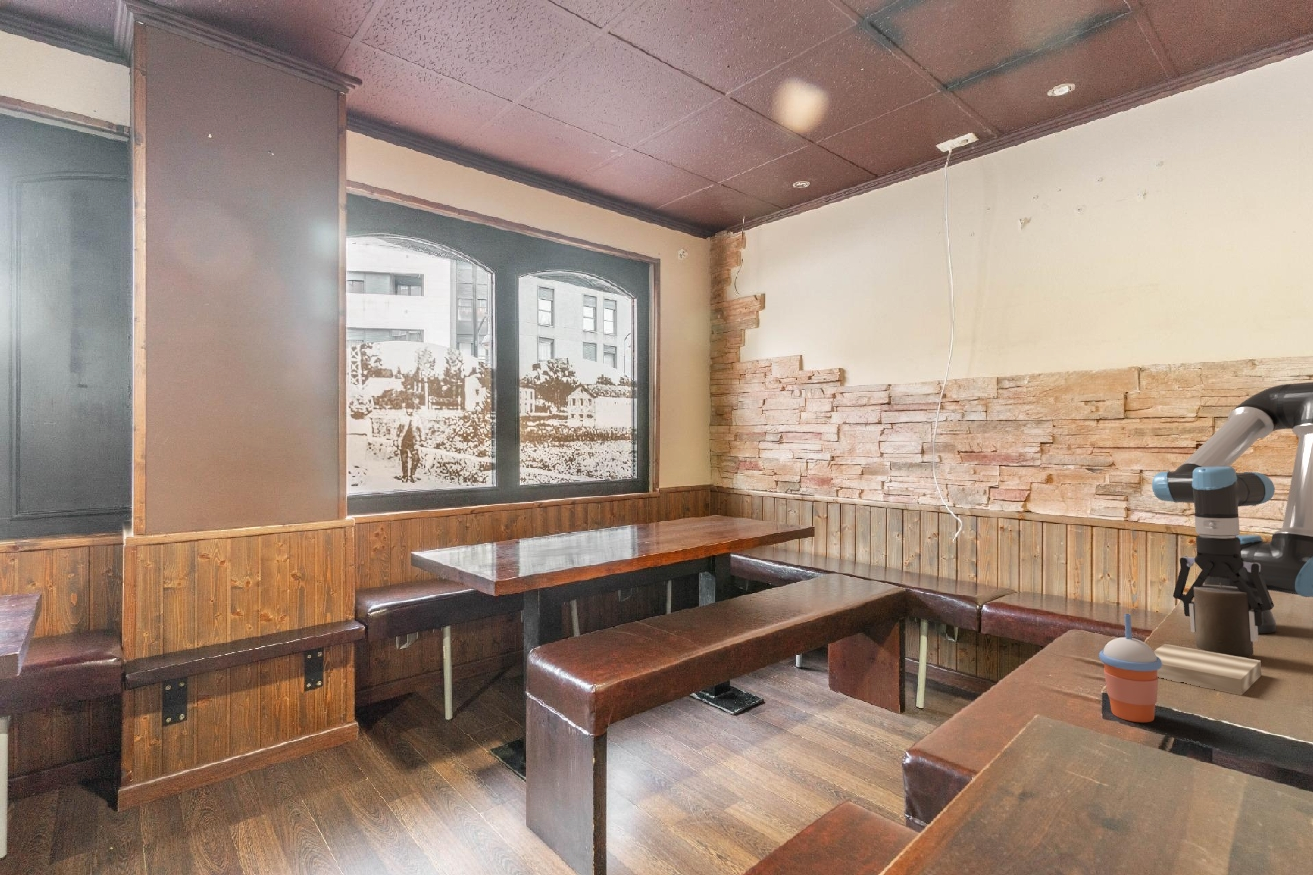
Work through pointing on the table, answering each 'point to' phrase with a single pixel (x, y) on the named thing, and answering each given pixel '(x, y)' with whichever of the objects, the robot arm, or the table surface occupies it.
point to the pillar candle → (1222, 620)
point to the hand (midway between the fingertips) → (1223, 635)
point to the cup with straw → (1131, 676)
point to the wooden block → (1207, 669)
